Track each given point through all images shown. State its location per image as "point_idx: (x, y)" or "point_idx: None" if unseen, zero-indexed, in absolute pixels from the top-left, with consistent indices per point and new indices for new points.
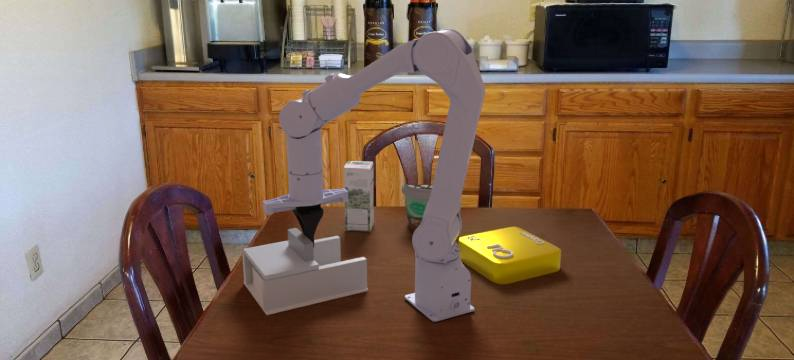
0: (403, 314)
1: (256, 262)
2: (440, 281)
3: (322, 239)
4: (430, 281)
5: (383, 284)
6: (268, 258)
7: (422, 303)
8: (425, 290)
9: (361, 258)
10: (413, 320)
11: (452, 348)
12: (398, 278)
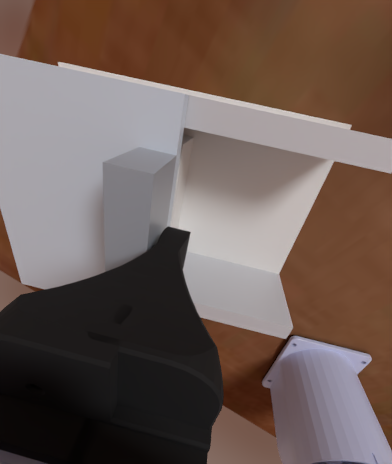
0: (251, 352)
1: (4, 207)
2: (281, 459)
3: (322, 136)
4: (286, 434)
5: (316, 284)
6: (42, 206)
7: (280, 374)
8: (284, 404)
9: (280, 330)
10: (248, 365)
11: (233, 405)
12: (362, 286)
